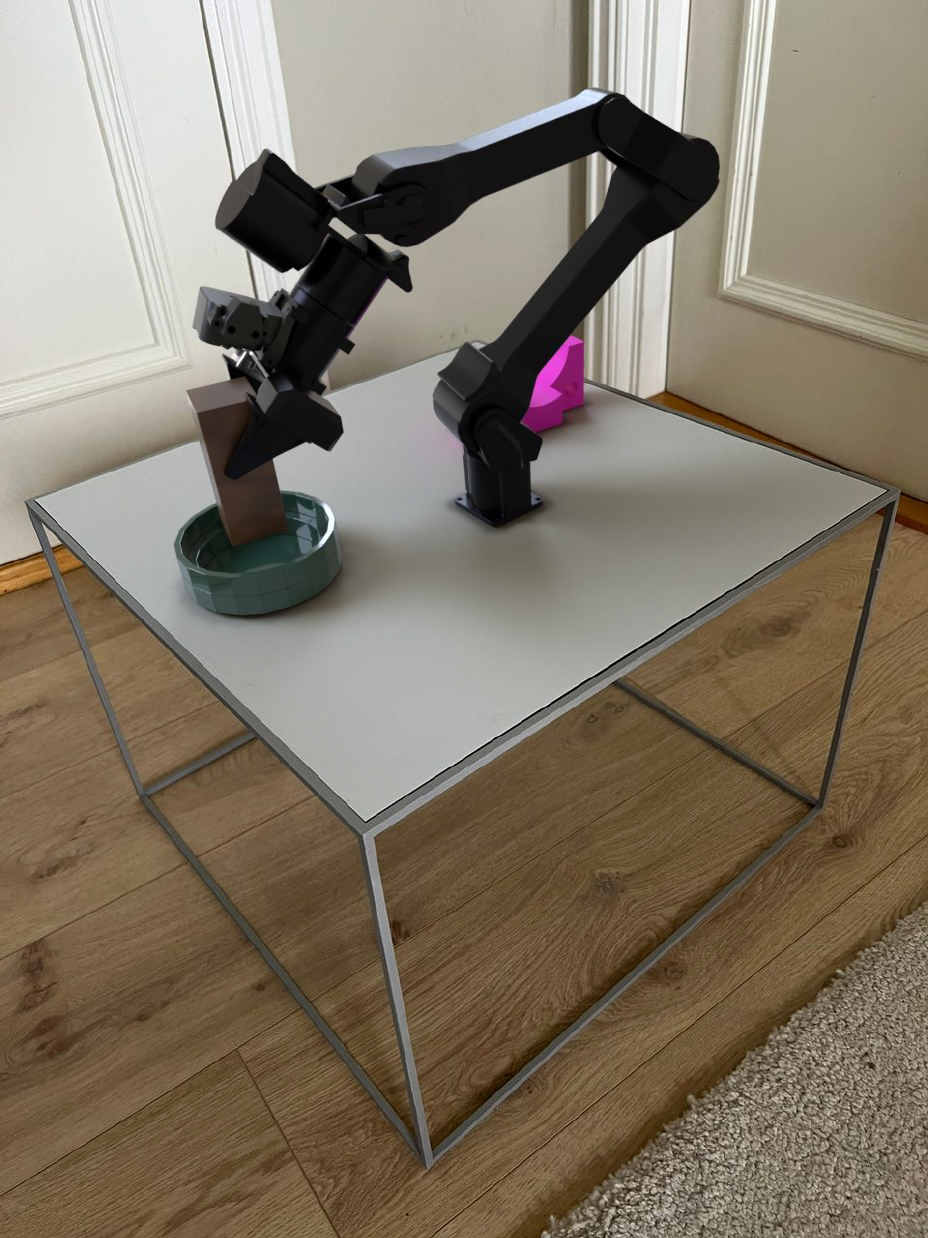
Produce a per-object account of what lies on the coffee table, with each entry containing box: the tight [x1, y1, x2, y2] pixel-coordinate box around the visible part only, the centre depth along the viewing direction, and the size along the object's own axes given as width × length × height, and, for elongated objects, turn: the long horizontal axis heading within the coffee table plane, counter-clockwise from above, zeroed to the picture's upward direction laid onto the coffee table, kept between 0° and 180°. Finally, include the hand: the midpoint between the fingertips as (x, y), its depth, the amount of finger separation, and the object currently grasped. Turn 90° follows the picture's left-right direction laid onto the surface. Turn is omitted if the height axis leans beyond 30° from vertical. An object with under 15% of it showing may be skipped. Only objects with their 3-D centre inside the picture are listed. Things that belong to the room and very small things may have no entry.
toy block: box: [522, 334, 585, 433], centre depth 105 cm, size 15×6×8 cm, turn 119°
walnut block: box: [185, 377, 289, 546], centre depth 80 cm, size 5×5×12 cm
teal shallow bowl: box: [173, 489, 343, 616], centre depth 85 cm, size 14×14×4 cm
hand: (222, 463), depth 79 cm, fingers closed on walnut block, 5 cm apart
